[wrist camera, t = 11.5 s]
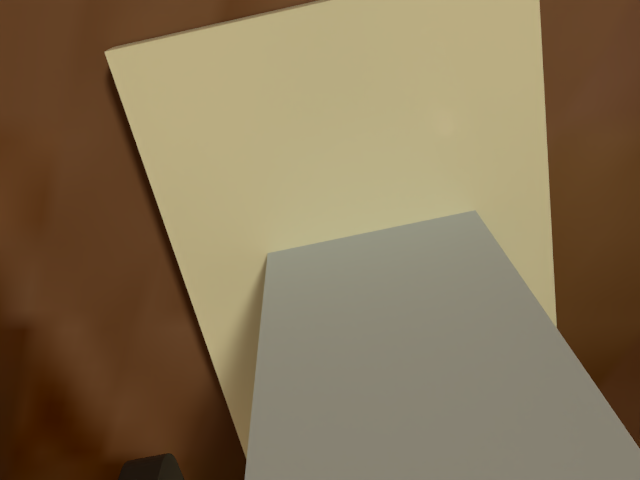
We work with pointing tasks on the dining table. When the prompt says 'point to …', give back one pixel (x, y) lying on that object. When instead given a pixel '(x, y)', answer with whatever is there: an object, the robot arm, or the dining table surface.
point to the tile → (336, 143)
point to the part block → (421, 367)
